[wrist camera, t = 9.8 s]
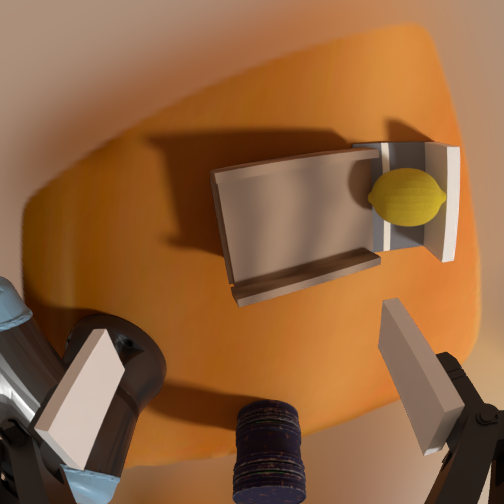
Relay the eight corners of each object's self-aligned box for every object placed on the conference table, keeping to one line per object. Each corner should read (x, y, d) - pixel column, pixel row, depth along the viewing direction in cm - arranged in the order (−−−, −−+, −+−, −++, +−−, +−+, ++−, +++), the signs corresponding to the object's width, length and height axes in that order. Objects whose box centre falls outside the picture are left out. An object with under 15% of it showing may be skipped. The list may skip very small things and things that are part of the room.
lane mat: (357, 253, 35) (357, 254, 34) (351, 144, 30) (352, 144, 30) (433, 243, 34) (434, 244, 34) (435, 141, 29) (436, 142, 29)
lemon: (440, 160, 27) (365, 162, 30) (453, 179, 22) (365, 181, 26) (440, 210, 29) (369, 211, 33) (450, 236, 25) (368, 237, 28)
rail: (422, 244, 34) (442, 262, 29) (423, 141, 29) (447, 146, 25) (433, 243, 34) (453, 260, 29) (435, 141, 29) (459, 147, 25)
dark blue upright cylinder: (264, 390, 43) (266, 479, 29) (311, 414, 46) (322, 494, 32) (224, 420, 46) (216, 499, 33) (270, 440, 49) (272, 514, 35)
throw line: (382, 249, 34) (383, 251, 34) (379, 142, 30) (381, 143, 29) (388, 249, 34) (389, 250, 34) (386, 142, 30) (388, 142, 29)
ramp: (234, 266, 35) (228, 308, 28) (216, 161, 31) (202, 175, 23) (369, 250, 34) (397, 286, 27) (365, 145, 30) (399, 155, 22)
